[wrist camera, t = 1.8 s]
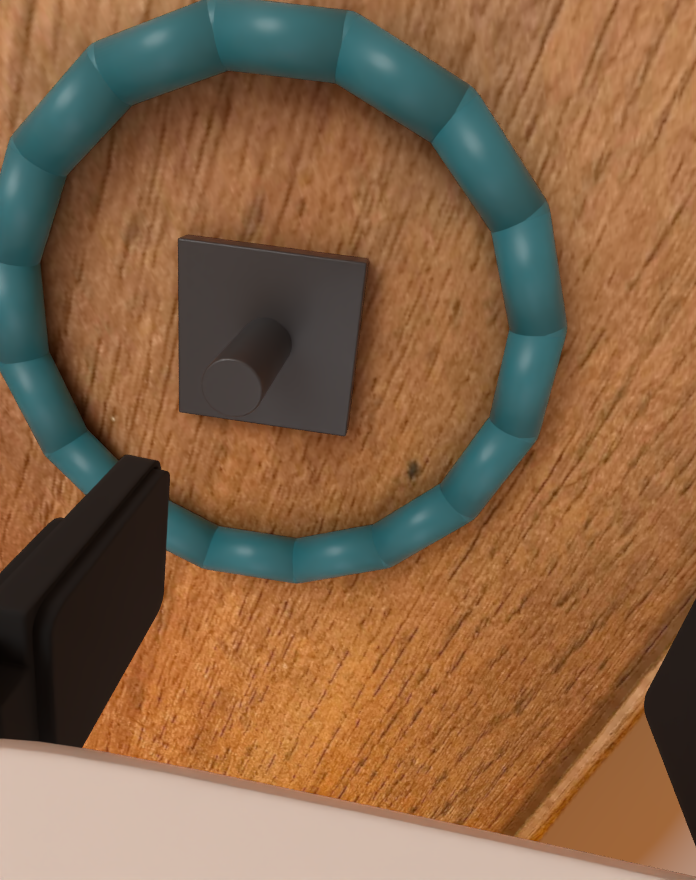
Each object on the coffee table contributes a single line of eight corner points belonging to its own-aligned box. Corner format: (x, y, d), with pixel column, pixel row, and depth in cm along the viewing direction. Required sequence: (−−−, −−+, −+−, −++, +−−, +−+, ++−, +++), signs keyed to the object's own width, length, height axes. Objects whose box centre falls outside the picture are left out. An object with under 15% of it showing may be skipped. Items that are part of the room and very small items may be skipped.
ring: (633, 48, 20) (653, 39, 18) (489, 595, 30) (493, 624, 28) (-34, -28, 21) (-76, -44, 19) (35, 523, 31) (11, 547, 29)
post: (369, 258, 24) (353, 293, 18) (348, 427, 27) (329, 499, 21) (186, 234, 24) (118, 261, 19) (186, 403, 27) (127, 469, 22)
